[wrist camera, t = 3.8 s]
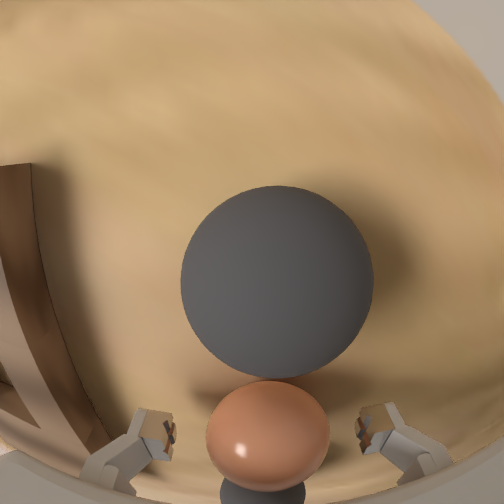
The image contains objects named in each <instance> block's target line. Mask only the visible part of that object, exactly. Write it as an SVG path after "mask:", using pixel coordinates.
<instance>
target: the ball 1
mask: <svg viewBox="0 0 504 504" xmlns="http://www.w3.org/2000/svg"><path fill="white" fill-rule="evenodd" d="M372 293H373V270H372V264H371V259H370V255H369V252H368V249H367V246H366V244H365V242H364V240H363V238H362V236H361V234H360V232H359V230H358V229H357V227H356V226H355V225H354V223H353V222H352V220H351V219H350V218H349V217H348V216H347V215H346V214H345V213H344V212H343V211H342V210H341V209H339V208H338V207H337V206H335V205H334V204H333V203H331V202H330V201H329V200H327V199H325V198H323V197H322V196H320V195H318V194H315V193H313V192H310V191H307V190H304V189H300V188H295V187H287V186H266V187H260V188H255V189H251V190H248V191H245V192H242V193H240V194H238V195H236V196H234V197H232V198H230V199H228V200H226V201H225V202H223V203H222V204H221V205H219V206H218V207H216V208H215V209H214V210H213V211H212V212H211V213H210V214H209V215H208V216H207V217H206V218H205V219H204V220H203V221H202V223H201V224H200V225H199V226H198V228H197V230H196V231H195V233H194V235H193V236H192V238H191V240H190V243H189V245H188V247H187V250H186V252H185V256H184V259H183V263H182V271H181V295H182V301H183V306H184V309H185V312H186V315H187V318H188V321H189V323H190V325H191V327H192V329H193V331H194V332H195V334H196V335H197V337H198V338H199V339H200V341H201V342H202V344H203V345H204V346H205V347H206V348H207V349H208V350H209V351H210V352H211V353H212V354H213V355H215V356H216V357H217V358H218V359H220V360H221V361H222V362H224V363H225V364H227V365H228V366H230V367H232V368H234V369H236V370H238V371H241V372H244V373H247V374H250V375H254V376H258V377H265V378H290V377H295V376H300V375H303V374H307V373H310V372H312V371H315V370H317V369H319V368H321V367H323V366H325V365H326V364H328V363H329V362H331V361H332V360H334V359H335V358H336V357H338V356H339V355H340V354H341V353H342V352H343V351H345V349H346V348H347V347H348V346H349V345H350V344H351V343H352V342H353V340H354V339H355V338H356V336H357V335H358V333H359V331H360V329H361V328H362V326H363V324H364V322H365V320H366V317H367V315H368V312H369V309H370V305H371V301H372Z"/></svg>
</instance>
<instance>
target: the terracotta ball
mask: <svg viewBox="0 0 504 504" xmlns="http://www.w3.org/2000/svg"><path fill="white" fill-rule="evenodd" d="M329 443H330V428H329V423H328V419H327V417H326V414H325V412H324V411H323V409H322V407H321V406H320V404H319V403H318V402H317V401H316V400H315V399H314V398H313V397H312V396H311V395H310V394H308V393H307V392H306V391H304V390H302V389H300V388H298V387H296V386H294V385H291V384H288V383H284V382H278V381H260V382H255V383H251V384H248V385H244V386H242V387H240V388H238V389H236V390H234V391H232V392H231V393H230V394H228V395H227V396H226V397H225V398H224V399H223V400H222V401H221V402H220V403H219V404H218V405H217V406H216V408H215V409H214V411H213V412H212V414H211V417H210V419H209V421H208V425H207V430H206V445H207V450H208V453H209V456H210V458H211V460H212V462H213V464H214V465H215V467H216V468H217V469H218V471H219V472H220V473H221V474H222V475H223V476H224V477H225V478H227V479H228V480H229V481H231V482H233V483H234V484H236V485H238V486H240V487H243V488H245V489H249V490H253V491H259V492H275V491H281V490H285V489H288V488H291V487H294V486H296V485H298V484H300V483H301V482H303V481H305V480H306V479H308V478H309V477H310V476H311V475H312V474H313V473H314V472H315V471H316V470H317V469H318V468H319V466H320V465H321V464H322V462H323V460H324V458H325V457H326V454H327V451H328V448H329Z"/></svg>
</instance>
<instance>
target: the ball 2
mask: <svg viewBox="0 0 504 504" xmlns="http://www.w3.org/2000/svg"><path fill="white" fill-rule="evenodd" d="M305 495H306V492H305V485H304V482H301V483H300V484H298V485H296V486H294V487H291V488H288V489H285V490H281V491H275V492H259V491H253V490H249V489H245V488H243V487H240V486H238V485H236V484H234V483H233V482H231V481H229V480H228V479H227V478H225V479H224V480H223V482H222V485H221V489H220V499H221V503H222V504H304V500H305Z"/></svg>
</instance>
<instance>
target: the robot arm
mask: <svg viewBox="0 0 504 504" xmlns="http://www.w3.org/2000/svg"><path fill="white" fill-rule="evenodd" d="M359 414H360V417H358V418H357V419H356V422H355V433H356V436H357V438H359V439H360V440H361V442H360V444H359V445H360V448H361V451H362V454H363V455H366V454H371V453H376V452H380V453H381V454H382V455H383V456H384V457H386V458H387V459H388V460H389V461H391V462H392V463H393V464H394V465H395V466H397V467H398V468H399V469H400V470H402V471H403V472H404V474H403V475H402V476H401V477H400V479H399V480H398V481H397V484H398V486H397V487H394V488H391V489H388V490H385V491H381V492H378V493H374V494H370V495H366V496H362V497H358V498H354V499H349V500H345V501H340V502H334V503H328V504H504V435H503V436H501V437H499V438H498V439H496V440H495V441H493V442H492V443H490V444H488V445H487V446H485V447H483V448H482V449H480V450H478V451H477V452H475V453H473V454H471V455H469V456H467V457H466V458H464V459H462V460H460V461H458V462H456V463H453V461H452V459H451V457H450V455H449V453H448V452H447V450H446V448H445V446H444V445H443V444H441V443H439V442H437V441H436V440H434V439H432V438H430V437H428V436H427V435H425V434H423V433H421V432H420V431H418V430H416V429H414V428H413V427H411V426H409V425H408V426H406V425H405V423H404V421H403V419H402V417H401V415H400V413H399V411H398V409H397V407H396V406H395V404H394V403H393V402H388V403H384V404H378V405H373V406H368V407H363V408H361V410H360V412H359ZM172 421H173V416H172V413H167V412H161V411H154V410H149V409H143V408H138V409H137V410H136V411H135V414H134V416H133V419H132V422H131V424H130V427H129V429H128V432H127V434H123V435H121V436H120V437H118V438H117V439H115V440H114V441H112V442H110V443H109V444H107V445H106V446H104V447H103V448H101V449H100V450H98V451H96V452H95V453H93V454H92V455H90V456H88V457H87V459H86V461H85V464H84V466H83V468H82V471H81V473H80V475H79V478H77V477H75V476H72V475H70V474H67V473H65V472H63V471H61V470H58V469H56V468H54V467H52V466H50V465H48V464H46V463H44V462H42V461H40V460H38V459H36V458H34V457H32V456H30V455H28V454H27V453H25V452H23V451H20V450H14V451H11V452H9V453H6V454H4V455H1V456H0V504H170V503H165V502H159V501H154V500H150V499H145V498H141V497H137V496H136V490H135V489H134V488H133V487H132V485H131V484H130V483H129V481H130V480H131V479H132V478H133V477H134V476H136V475H137V474H138V473H139V472H140V471H141V470H142V469H143V468H144V467H145V466H146V465H148V464H149V463H150V462H151V461H152V459H157V460H164V461H171V459H172V454H173V447H172V444H174V443H175V441H176V434H177V430H176V425H175V423H174V422H172Z"/></svg>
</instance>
